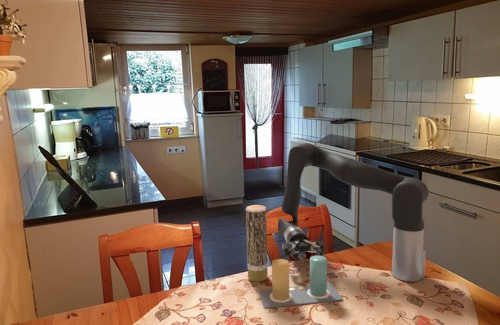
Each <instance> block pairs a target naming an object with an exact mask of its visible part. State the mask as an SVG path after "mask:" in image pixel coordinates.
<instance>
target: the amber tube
mask: <svg viewBox="0 0 500 325" xmlns="http://www.w3.org/2000/svg"><path fill="white" fill-rule="evenodd" d="M271 281H272V282H271V285H272V286H271V287H272V288H271V289H272V296H273V298H274V299H275V300H279V301H284V300H287V299H288V298H289V287H290V262H289V260H287V259H282V258H277V259H274V260H272V261H271Z"/></svg>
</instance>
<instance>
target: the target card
mask: <svg viewBox="0 0 500 325" xmlns="http://www.w3.org/2000/svg"><path fill="white" fill-rule="evenodd" d="M258 291H259V295H260V298H261V301H262V304H263V308H264V309H272V308H282V307H291V306H299V305H300V306H301V305H311V304H320V303H322V304H323V303H330V302H340V301H342V302H343V301H344V298H343V297H342V295H341V294H340V293H339V291H338V290H337V289H336V287H335V286H334V285H333V284H332V282H330V283H329V282H328V283H327V294H326V295H325V296H322V297H317V296H313V295H311V294H310V284H309V285H298V286H289V298H288V299H287V300H284V301H279V300H275V299H274V298H273V296H272V288H266V289H259V290H258Z"/></svg>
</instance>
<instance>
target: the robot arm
mask: <svg viewBox="0 0 500 325" xmlns="http://www.w3.org/2000/svg"><path fill="white" fill-rule="evenodd" d="M307 167H315V168H319V169H322V170H324V171H327V172H328V173H329V174H331V175H332V176H333V177H334V178H335V179H336V180H338V181H339V182H342V183H344V184H346V185H350V186H353V187H355V188H360V189H364V190H374V191H380V192H383V193H387V194H389V195H391V197H392V198H391V215H392V216H391V217H392V221H393V231H392V232H393V235H392V236H393V237H392V238H393V240H392V262H391V263H392V264H391V267H392V268H391V274H392V276H393V277H394V278H396V279H397V280H400V281H403V282H411V283H412V282H413V283H414V282H419V281H420V280H422V279H425V270H426V268H425V267H426V251H425V250H424V234H425V232H424V231H425V221H424V219H423V203H424V202H425V201H426V200H427V199H428V196H429V188H428V186H427V185H426V183H424V181H422V180H420V179H418V178H415V177H411V176H406V175H402V174H398V173H394V172H390V171H386V170H385V169H381V168H379V167H377V166H374V165H371V164H370V163H369V164H368V163H365V162H363V161H360V160H357V159H354V158H352V157H351V158H350V157H348V156H344V155H341V154H338V153H337V154H336V153H333V152H330V151H327V150H325V149H323V148H321V147H319V146H316V145H314V144H311V143H306V142H305V143H299V144H296V145H293V146H292V147H291V148H290V149H289V152H288V157H287V171H286V172H287V173H286V183H285V190H284V195H283V198H282V204H281V211H282V212H283V213H284V214H286V215H289V216H290V217H291V216H292V218H293V221H291V222H290V221H289V222H287V221H285V220H284V219H282V218H280V219H279V222H278V231H279V232H278V233H277V234H278V235H280V236H281V237H283V238H284V240H285V242H282V243H281V247H282V248H281V250H282V252H283V255H284V256H288V255H290V256H291V258H292V259H294V260H298V253H301V252H308V253H311V254H313V253H315V254H316V256H323V257H324V253H325V244H324V243H323V242H321V241H320V240H319V239H316V240H315V241H311V240H310V239H309V237H308V236H307V234H306V233H305V232H304V231H303V229H302V228H300V227H299V208H300V204H301V200H302V187H301V186H302V185H301V180H302V175H303V172H304V170H305V168H307Z"/></svg>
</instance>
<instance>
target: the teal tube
mask: <svg viewBox="0 0 500 325" xmlns="http://www.w3.org/2000/svg"><path fill="white" fill-rule="evenodd" d="M327 281H328V259H327V258H326V257H325V256H324V255H323V256H318V255H312V256H310V258H309V285H310V294H311V295H313V296H317V297H322V296H325V295H326V294H327V284H328V282H327Z"/></svg>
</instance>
